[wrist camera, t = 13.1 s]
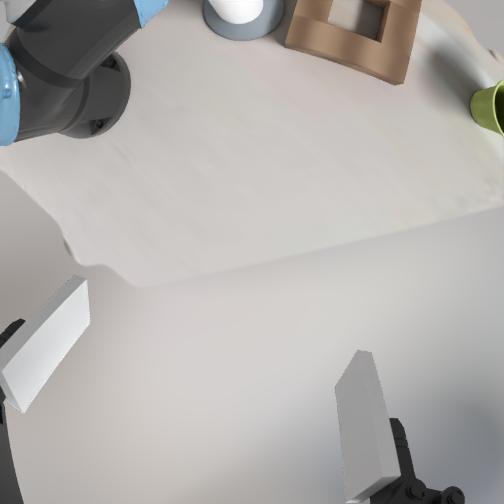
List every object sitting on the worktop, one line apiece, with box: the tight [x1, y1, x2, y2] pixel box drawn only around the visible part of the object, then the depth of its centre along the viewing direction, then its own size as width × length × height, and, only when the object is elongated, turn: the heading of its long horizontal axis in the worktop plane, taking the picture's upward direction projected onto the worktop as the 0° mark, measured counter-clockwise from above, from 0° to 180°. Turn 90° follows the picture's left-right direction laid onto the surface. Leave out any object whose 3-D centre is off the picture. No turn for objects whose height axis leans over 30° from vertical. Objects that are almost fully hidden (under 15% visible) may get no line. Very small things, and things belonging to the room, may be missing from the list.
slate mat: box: [204, 0, 284, 41], centre depth 32 cm, size 11×11×1 cm
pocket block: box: [285, 0, 422, 85], centre depth 30 cm, size 16×16×4 cm
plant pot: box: [470, 80, 504, 137], centre depth 30 cm, size 9×9×9 cm
